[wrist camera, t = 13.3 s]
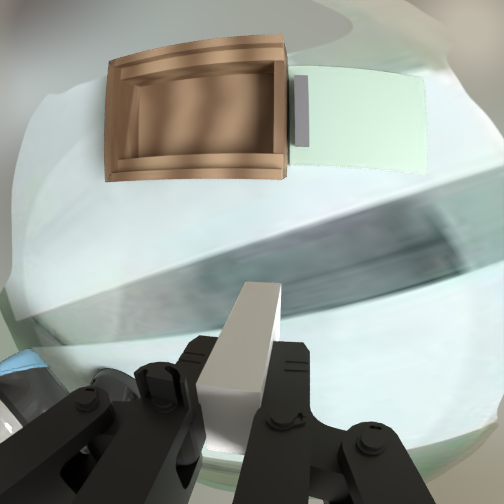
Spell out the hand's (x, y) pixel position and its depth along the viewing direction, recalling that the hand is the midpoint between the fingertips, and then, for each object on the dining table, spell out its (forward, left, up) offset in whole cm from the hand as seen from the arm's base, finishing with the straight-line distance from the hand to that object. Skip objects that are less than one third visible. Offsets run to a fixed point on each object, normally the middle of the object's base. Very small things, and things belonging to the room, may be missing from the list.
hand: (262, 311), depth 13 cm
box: (-11, +12, -24) cm, 29 cm away
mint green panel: (+8, +12, -25) cm, 29 cm away
